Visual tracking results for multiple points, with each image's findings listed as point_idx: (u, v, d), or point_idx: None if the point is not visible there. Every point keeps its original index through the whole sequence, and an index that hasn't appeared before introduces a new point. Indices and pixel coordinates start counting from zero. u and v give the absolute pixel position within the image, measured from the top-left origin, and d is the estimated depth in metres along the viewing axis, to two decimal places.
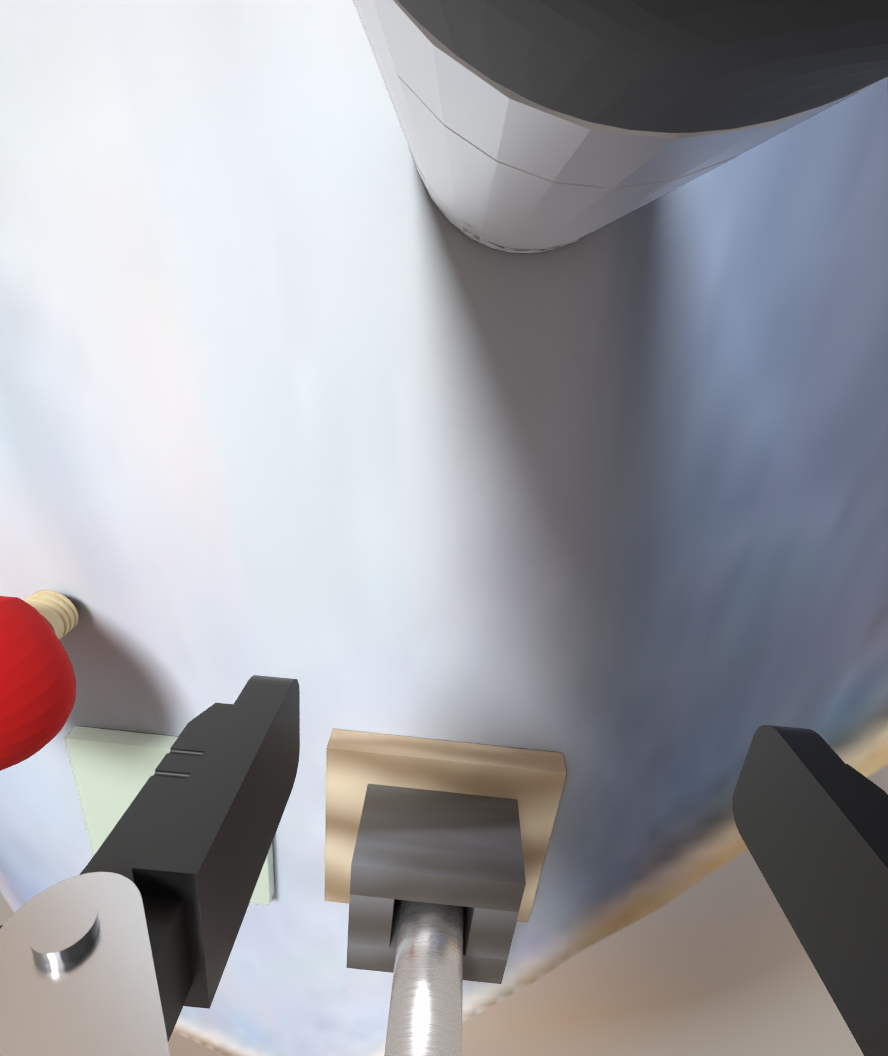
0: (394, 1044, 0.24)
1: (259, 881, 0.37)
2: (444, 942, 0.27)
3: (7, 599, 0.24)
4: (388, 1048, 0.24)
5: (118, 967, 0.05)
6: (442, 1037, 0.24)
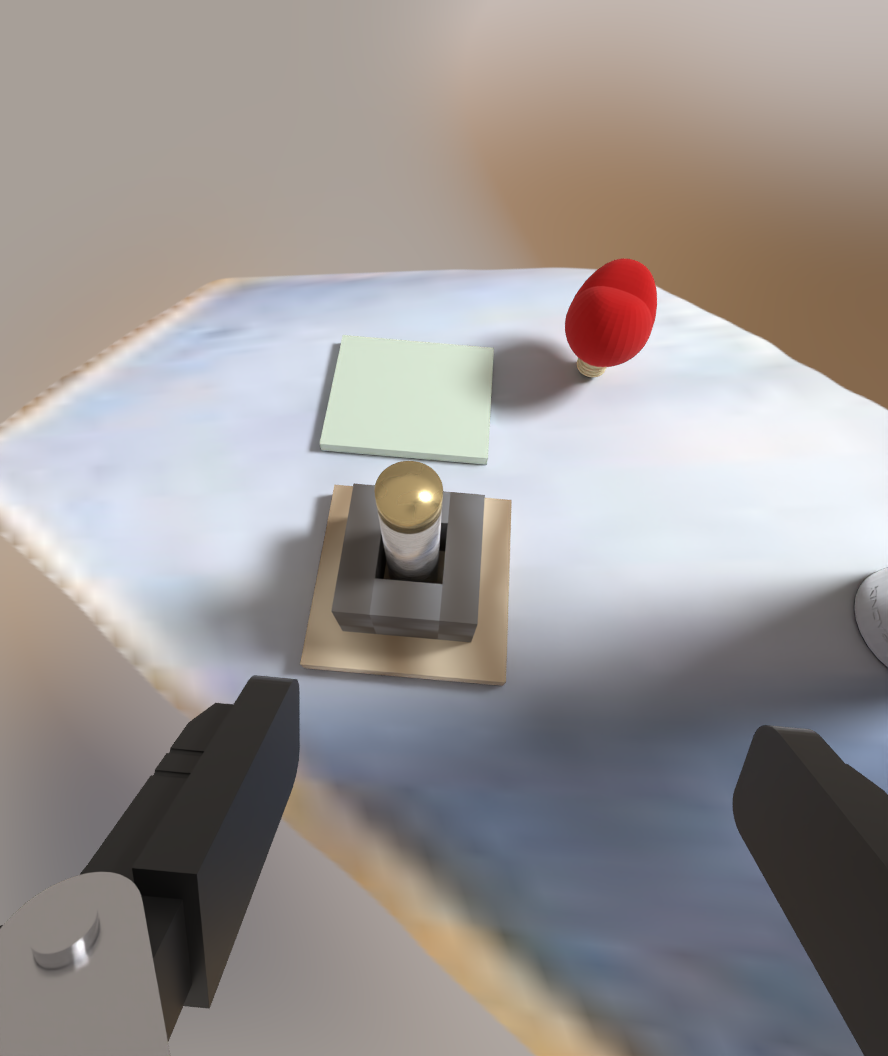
0: None
1: (351, 439, 0.44)
2: (436, 552, 0.33)
3: None
4: None
5: (118, 967, 0.05)
6: (437, 527, 0.29)
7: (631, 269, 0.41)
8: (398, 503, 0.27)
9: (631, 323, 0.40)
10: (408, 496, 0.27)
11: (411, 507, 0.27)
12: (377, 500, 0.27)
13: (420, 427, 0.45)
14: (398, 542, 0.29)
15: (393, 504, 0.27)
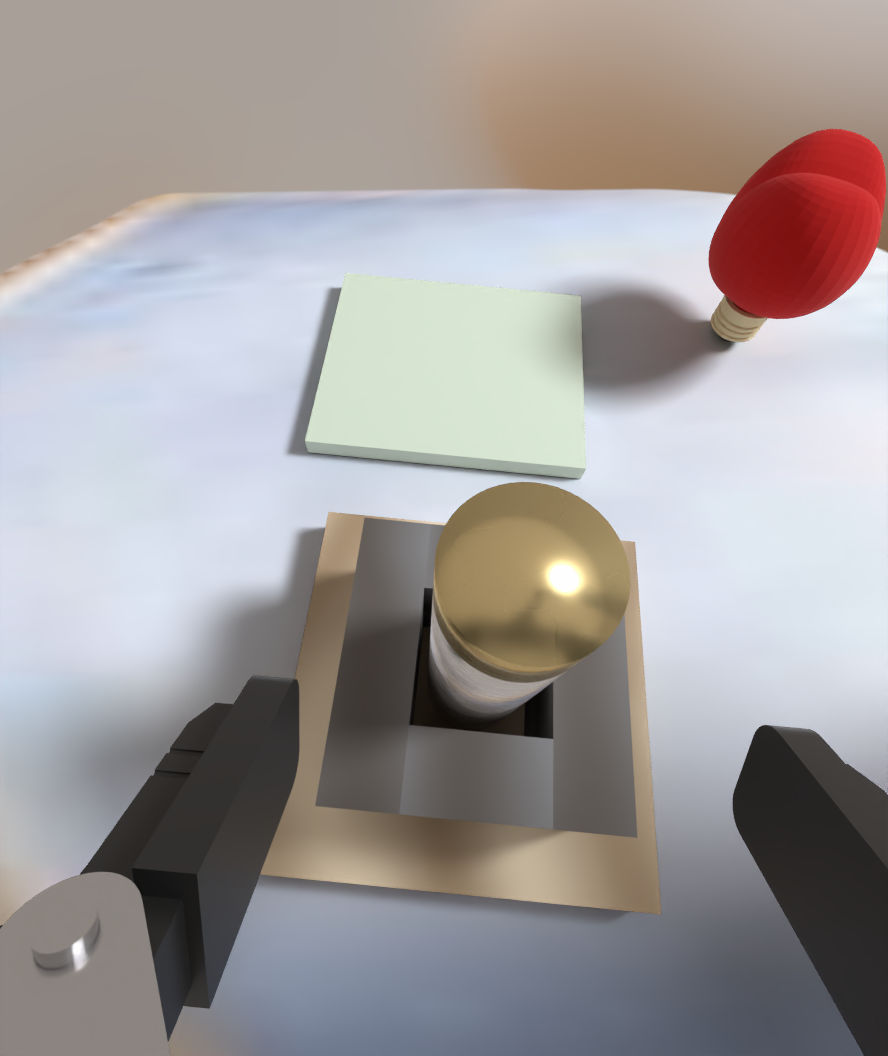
0: None
1: (357, 435, 0.27)
2: None
3: None
4: None
5: (118, 967, 0.05)
6: None
7: (851, 142, 0.24)
8: (506, 608, 0.09)
9: (863, 231, 0.22)
10: (533, 586, 0.09)
11: (545, 622, 0.09)
12: (444, 598, 0.09)
13: (471, 416, 0.27)
14: (483, 687, 0.11)
15: (491, 612, 0.09)
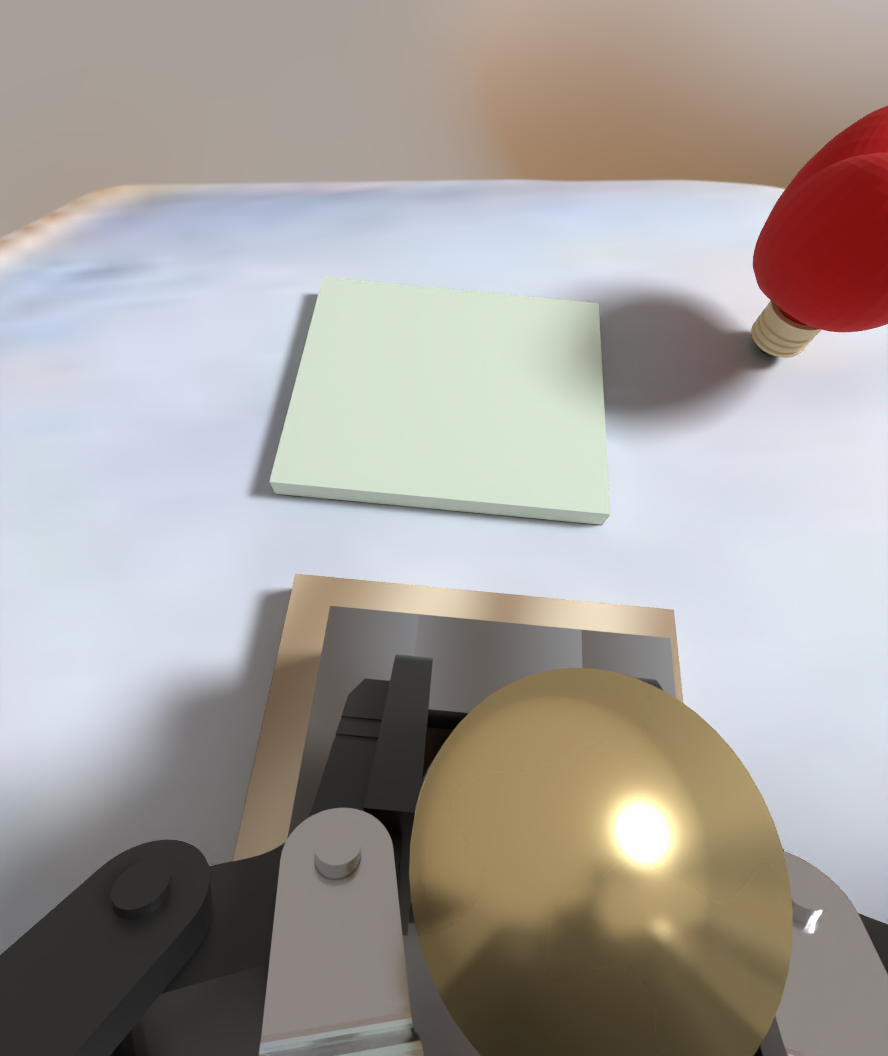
0: None
1: (333, 474, 0.22)
2: None
3: None
4: None
5: (390, 880, 0.06)
6: None
7: None
8: (552, 967, 0.05)
9: None
10: (603, 908, 0.05)
11: (633, 1000, 0.04)
12: (427, 943, 0.05)
13: (471, 449, 0.23)
14: None
15: (523, 976, 0.05)
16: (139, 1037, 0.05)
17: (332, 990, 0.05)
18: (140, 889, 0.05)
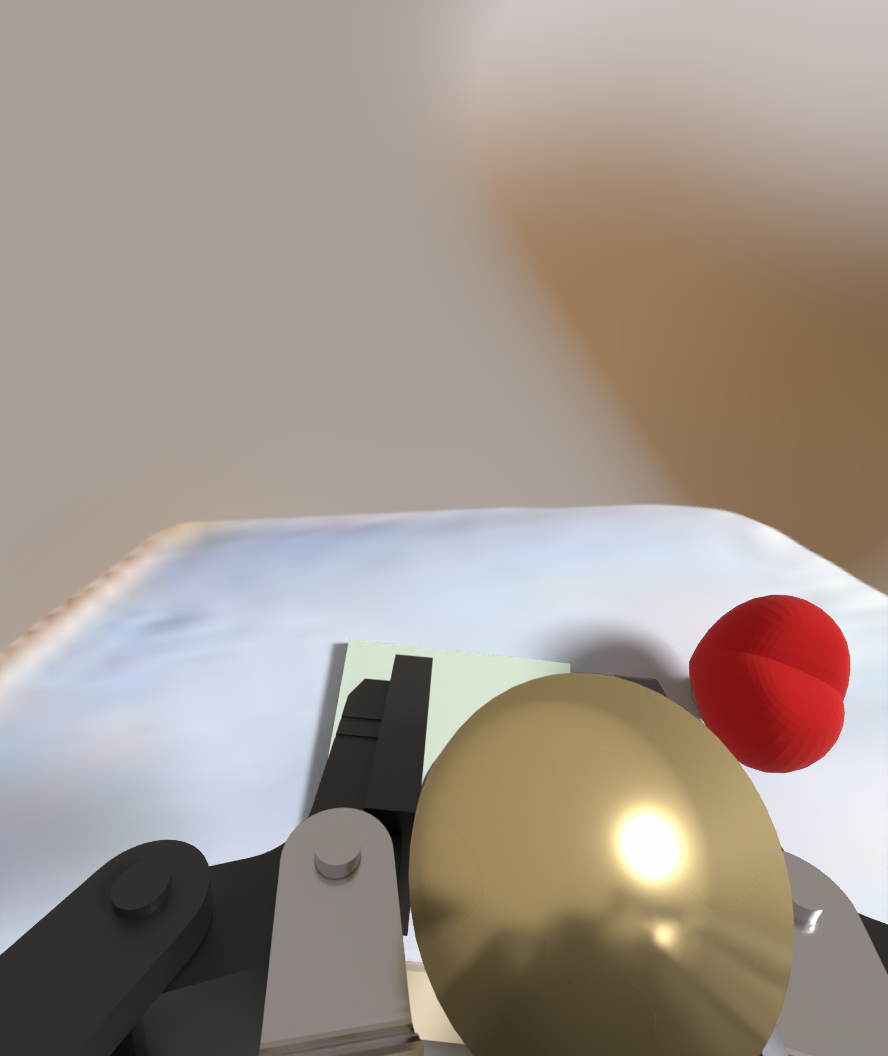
0: None
1: None
2: None
3: None
4: None
5: (390, 880, 0.06)
6: None
7: (818, 637, 0.26)
8: (551, 973, 0.05)
9: (826, 745, 0.24)
10: (603, 915, 0.05)
11: (632, 1008, 0.04)
12: (426, 947, 0.05)
13: None
14: None
15: (522, 982, 0.04)
16: (140, 1037, 0.05)
17: (332, 990, 0.05)
18: (140, 889, 0.05)
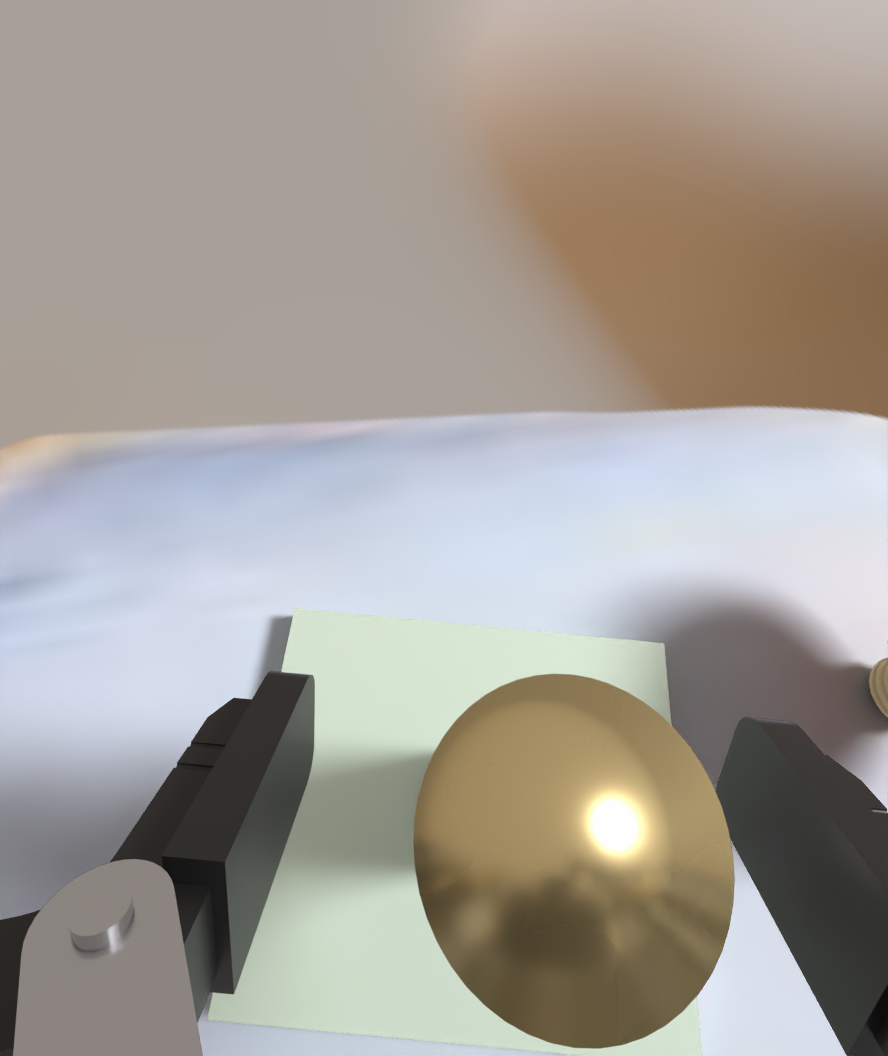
0: None
1: (301, 999, 0.15)
2: None
3: None
4: None
5: (154, 949, 0.05)
6: None
7: None
8: (531, 922, 0.05)
9: None
10: (575, 875, 0.06)
11: (597, 950, 0.05)
12: (427, 901, 0.06)
13: None
14: None
15: (507, 929, 0.05)
16: None
17: None
18: None
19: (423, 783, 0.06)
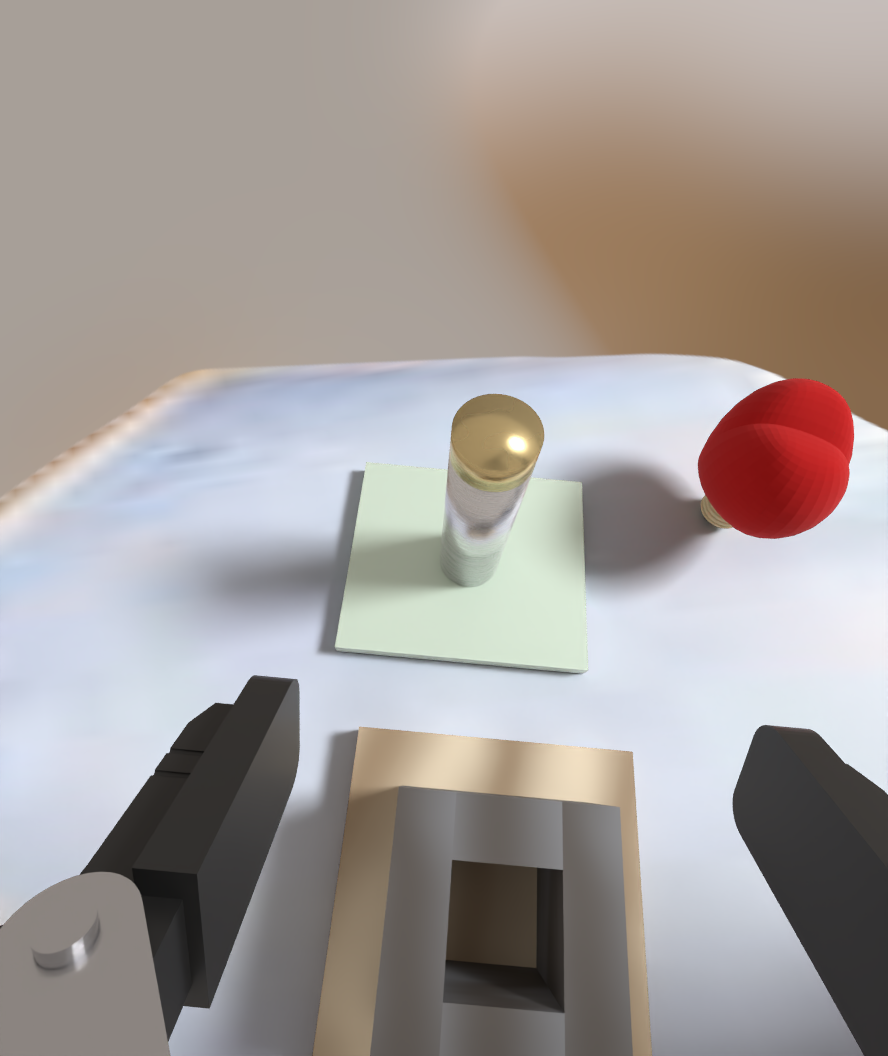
0: None
1: (382, 639, 0.30)
2: (512, 525, 0.26)
3: None
4: None
5: (118, 968, 0.05)
6: (526, 487, 0.22)
7: (822, 400, 0.27)
8: (485, 447, 0.20)
9: (832, 492, 0.25)
10: (498, 439, 0.20)
11: (503, 453, 0.20)
12: (456, 443, 0.20)
13: (484, 616, 0.30)
14: (474, 505, 0.22)
15: (478, 448, 0.20)
16: None
17: None
18: None
19: (454, 418, 0.20)
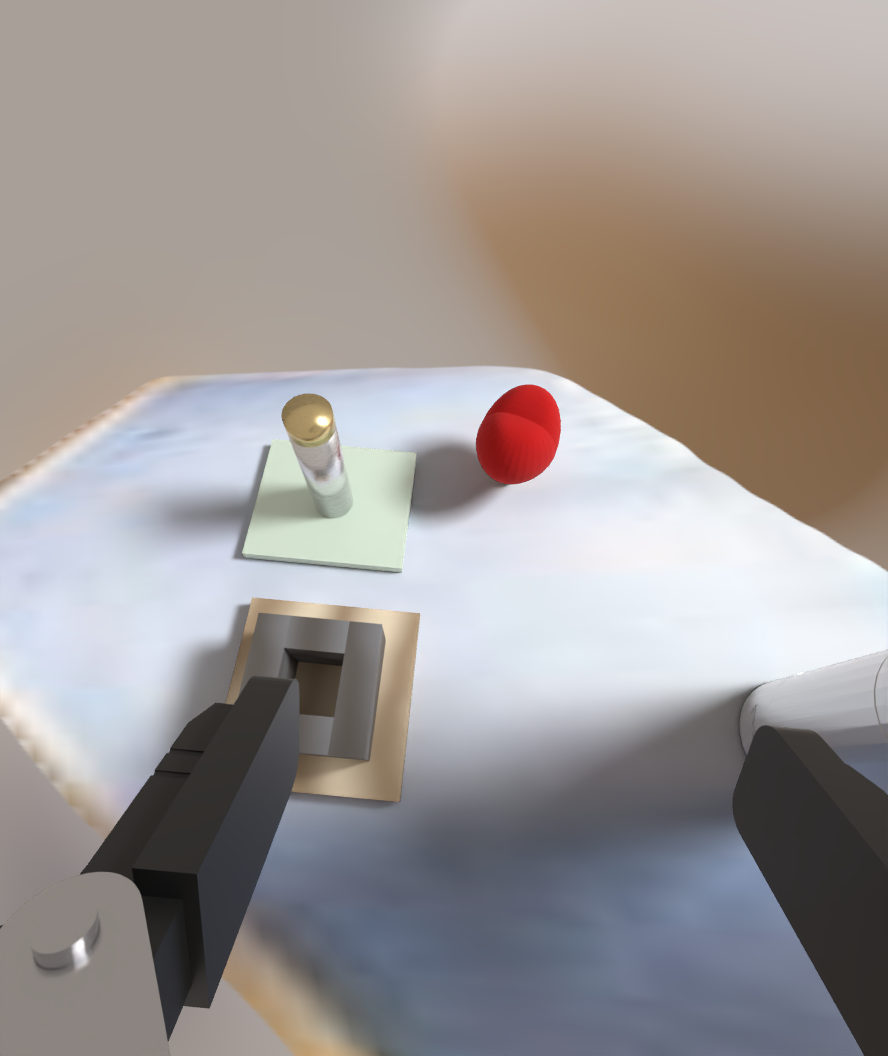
0: None
1: (272, 549, 0.47)
2: (340, 472, 0.43)
3: None
4: None
5: (118, 967, 0.05)
6: (333, 446, 0.39)
7: (533, 398, 0.44)
8: (298, 422, 0.37)
9: (529, 452, 0.42)
10: (306, 417, 0.37)
11: (307, 425, 0.37)
12: (283, 420, 0.37)
13: (339, 536, 0.48)
14: (303, 456, 0.39)
15: (294, 423, 0.37)
16: None
17: None
18: None
19: (284, 407, 0.37)
